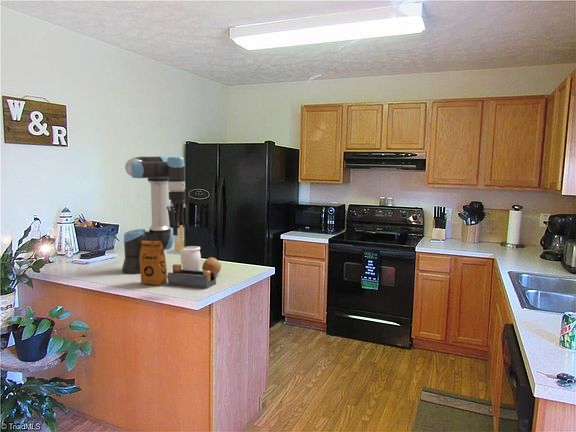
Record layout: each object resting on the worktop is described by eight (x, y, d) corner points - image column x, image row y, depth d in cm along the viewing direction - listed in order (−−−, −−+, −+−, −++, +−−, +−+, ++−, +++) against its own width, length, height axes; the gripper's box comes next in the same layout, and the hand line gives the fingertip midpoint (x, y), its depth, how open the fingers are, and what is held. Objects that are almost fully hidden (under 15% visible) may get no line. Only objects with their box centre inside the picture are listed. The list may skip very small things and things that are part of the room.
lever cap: (167, 253, 197) (165, 225, 196) (173, 251, 202) (172, 224, 200) (185, 254, 194) (184, 226, 192) (191, 252, 199) (190, 224, 197)
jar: (204, 273, 236) (204, 246, 234) (194, 277, 226) (193, 249, 224) (188, 271, 239) (187, 245, 237) (177, 276, 229) (176, 248, 228)
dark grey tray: (168, 284, 212) (167, 266, 211) (178, 280, 221) (177, 262, 220) (206, 288, 205) (206, 269, 204) (216, 283, 213) (215, 265, 212)
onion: (222, 277, 226) (221, 258, 225) (203, 278, 223) (202, 260, 222) (219, 273, 235) (219, 255, 234) (201, 274, 233) (201, 256, 232)
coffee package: (159, 287, 209) (157, 242, 206) (137, 285, 212) (135, 241, 210) (170, 281, 218) (168, 239, 216) (149, 280, 222) (147, 238, 219)
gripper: (173, 191, 186) (175, 244, 189) (193, 190, 201) (195, 239, 204) (159, 191, 188) (161, 243, 191) (179, 189, 203) (181, 238, 206)
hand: (178, 241), depth 197 cm, fingers closed on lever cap, 3 cm apart
